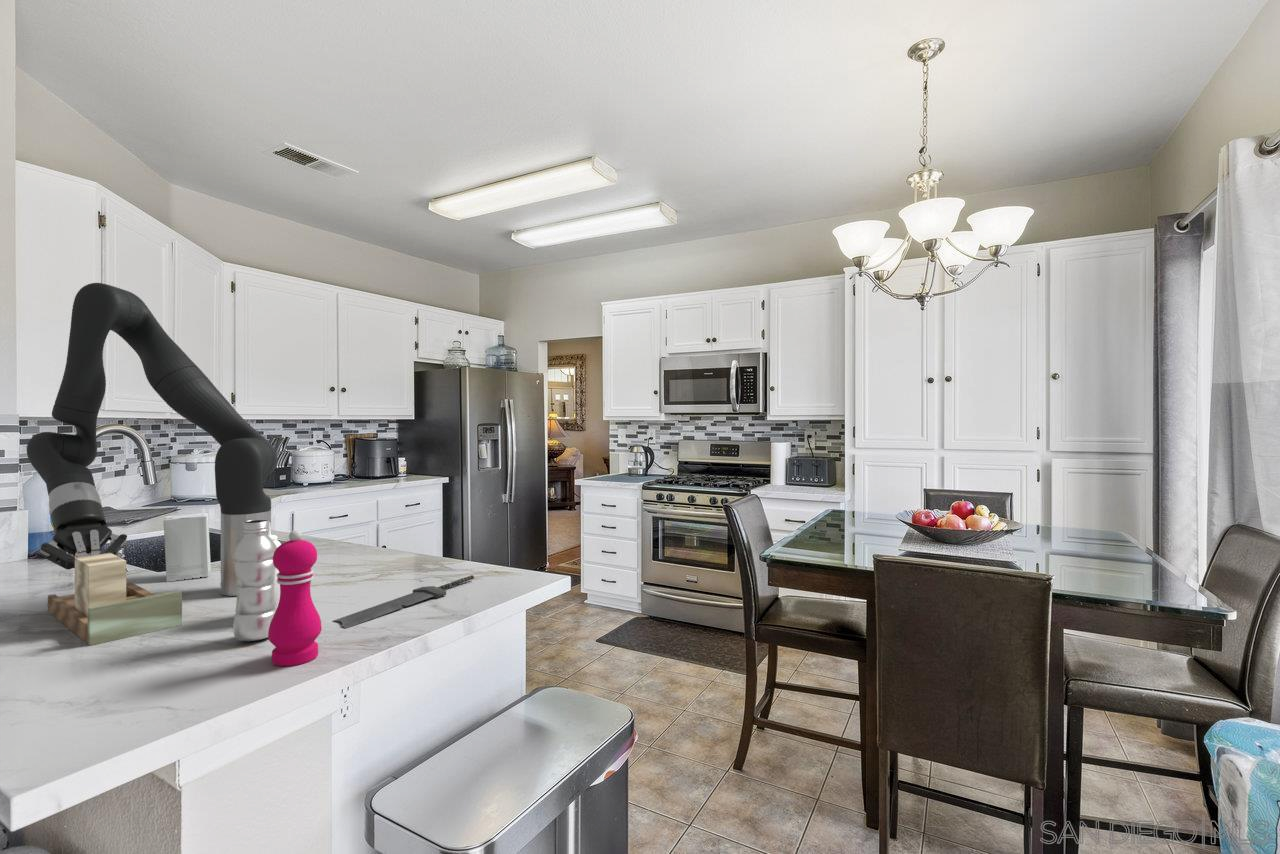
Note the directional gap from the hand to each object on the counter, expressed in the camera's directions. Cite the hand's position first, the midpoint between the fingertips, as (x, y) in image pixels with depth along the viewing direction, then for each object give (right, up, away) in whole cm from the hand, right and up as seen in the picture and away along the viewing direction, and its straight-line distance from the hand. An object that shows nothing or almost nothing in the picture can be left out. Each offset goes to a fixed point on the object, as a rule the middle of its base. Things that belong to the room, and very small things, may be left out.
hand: (93, 582), depth 111 cm
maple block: (+4, -4, -3) cm, 7 cm away
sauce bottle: (+32, -7, +1) cm, 33 cm away
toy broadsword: (+55, -8, +12) cm, 57 cm away
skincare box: (-5, -7, +30) cm, 31 cm away
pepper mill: (+48, -7, -18) cm, 52 cm away
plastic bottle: (+37, -7, -10) cm, 39 cm away
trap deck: (+3, -7, +1) cm, 7 cm away
